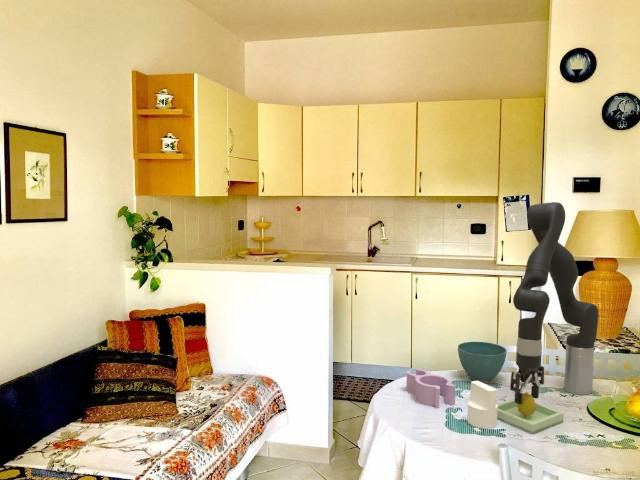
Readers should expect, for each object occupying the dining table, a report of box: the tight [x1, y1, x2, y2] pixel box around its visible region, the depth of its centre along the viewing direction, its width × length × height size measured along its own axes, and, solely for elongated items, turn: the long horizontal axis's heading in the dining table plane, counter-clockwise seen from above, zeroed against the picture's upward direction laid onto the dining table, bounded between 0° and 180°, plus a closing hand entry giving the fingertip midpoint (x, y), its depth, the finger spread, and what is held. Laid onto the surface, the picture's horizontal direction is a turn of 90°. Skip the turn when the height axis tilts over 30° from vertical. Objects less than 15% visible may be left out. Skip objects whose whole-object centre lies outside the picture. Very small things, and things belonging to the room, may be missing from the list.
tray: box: [496, 398, 564, 435], centre depth 175 cm, size 16×16×3 cm
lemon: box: [517, 392, 536, 417], centre depth 174 cm, size 6×6×8 cm
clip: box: [405, 368, 456, 409], centre depth 193 cm, size 20×12×7 cm, turn 26°
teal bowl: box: [457, 341, 508, 383], centre depth 212 cm, size 18×18×12 cm
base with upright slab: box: [467, 380, 498, 430], centre depth 172 cm, size 9×9×12 cm
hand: (526, 400), depth 174 cm, fingers open, 8 cm apart
